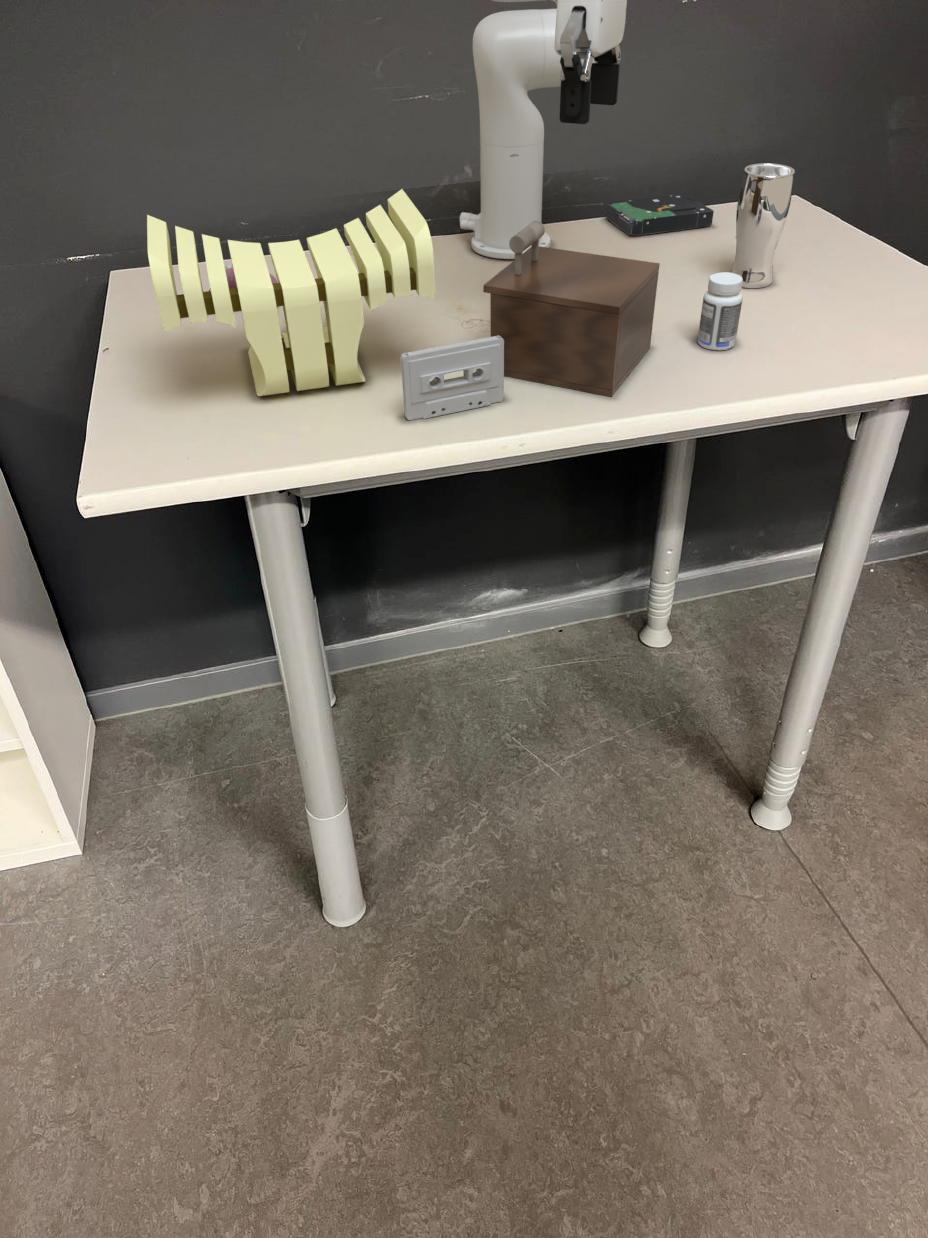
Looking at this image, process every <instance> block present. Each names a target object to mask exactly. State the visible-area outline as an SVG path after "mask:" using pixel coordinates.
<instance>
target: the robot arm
mask: <svg viewBox="0 0 928 1238" xmlns="http://www.w3.org/2000/svg"><path fill="white" fill-rule="evenodd" d="M491 1H492V2H496V3H497V2H498V3H522V2H542V1H543V2H545V1H546V0H491ZM551 1H552V2H554V3H555V5H556V8H547V9H546V8H543V9H537V8H533V9H515V10H514V9H513V10H504V11H503V10H502V11H499V12H494V13H492V14H488V15H487V16H486V17H484V18H482V19H481V20H480V21H479V22H478V23H477V25H476V26H475V29H474V32H473V34H472V58H473V65H474V66H473V67H474V71H475V79H476V86H477V96H478V110H479V111H478V112H479V166H480V168H479V169H480V170H479V173H480V175H479V177H480V178H479V179H480V181H479V182H480V212H479V213H478V214H474V213H472V212H464V211H462V212H461V213H460V215H459V226H460V227H459V228H460V229H461V230H467V231H468V230H471V231H473V232H474V235H473V236H472V238H471V240H470V241H471V245H470V246H471V249H472V250H473V251H474V252H475V253H477V254H478V255H480V256H484V257H487V258H490V259H499V260H515V253H514V252H513V251H512V250H511V249H510V246H509V242H510V239H511V238H512V237H513V236H514V235H516V234H517V233H518V232H520V231H521V230H522V229H524V228H525V227H526V226H528V225H529V224H530V223H531V222H533V221H540V222H541V223H542V217H543V216H542V214H543V213H542V212H543V211H542V210H543V183H544V153H545V151H544V149H545V148H544V147H545V123H544V120H543V117H542V114H541V112H540V111H539V109H538V108H537V107H536V105H535V104H534V103H533V102H532V101H531V99H530V97H529V95H528V92H529V91H534V90H539V89H549V88H560V94H559V96H560V97H559V121H560V123H563V124H577V125H587V124H588V123H589V122H590V115H591V105H600V106H601V105H602V106H615V105H616V104H617V103H618V94H619V93H618V92H619V79H620V69H621V67H620V65H621V64H620V63H621V58H622V53H621V46H620V45H621V43H622V42H623V38H624V33H625V28H626V27H625V26H626V20H627V19H626V16H627V8H628V7H627V6H628V5H627V4H628V0H551ZM551 241H552V239H551V237H550V235H549V234H547V233H546V232H544V235H543V236H542V237H541V238H539V246H540V247H547V248H551V244H552V243H551ZM530 247H532V245H531V246H529V247H528V248H527V249H526V250H524V251H523V252H522V254H523V253H524V252H525V251H527V250H528V249H529V248H530Z"/></svg>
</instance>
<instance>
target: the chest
mask: <svg viewBox="0 0 928 1238" xmlns="http://www.w3.org/2000/svg"><path fill="white" fill-rule="evenodd" d="M659 272H660V270H659V271H658V272H657V273H656V274H655V275H654V276H653V277H652V278H651V280H650V281H649V282H648V283H647V284H646V285H645V286H644V287H643V288H642V290H641V291H640V292H639V293H638V294H637V295H636V296H635V297H634V298H633V299H632V301H631V302H630V303H629V304H628V305H627V306H626V307H625V308H624V309H623V311H622V312H621V313H620V314H613V313H607V312H601V311H594V310H588V309H582V308H576V307H570V306H564V305H558V304H552V303H546V302H540V301H533V300H527V299H521V298H515V297H509V296H503V295H497V294H491V293H489V294H490V297H489V300H490V302H489V303H490V305H489V306H490V307H489V310H490V314H489V315H490V319H489V320H490V337H493V336H498V335H499V336H501V337H502V338H503V340H504V377H508V378H509V377H510V378H514V379H519V380H523V381H530V382H535V383H539V384H544V385H548V386H549V385H550V386H555V387H559V388H564V389H570V390H575V391H579V392H585V393H590V394H594V395H600V396H605V397H610V398H612V397H613V396H614V394H616V392H618V390H619V389H620V387H621V386H622V385H623V383H624V382H625V381H626V380H627V378H628V377H629V376H630V374H631V373H632V372H633V371H634V370H635V368H636V367H637V365H638V364H639V363H640V362H641V361H642V360H643V358H644V356H646V354H647V353H648V351H649V350H650V349H651V343H652V335H653V325H654V315H655V309H656V307H655V306H656V299H657V291H658V282H659Z"/></svg>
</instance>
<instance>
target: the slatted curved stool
mask: <svg viewBox="0 0 928 1238" xmlns="http://www.w3.org/2000/svg"><path fill="white" fill-rule="evenodd" d="M387 210H388V214H387V212H386V211H385V210H384V208H383V206H382V204H379V205H377V206H375V207H373V208H372V209H371V210H369V211H367V212H365V223H366V226H367V229H368V230H369V232H370V234H371V236H372V238H373V240H374V242H373V240H372V239H371V237H370V235H369V233H368V232H367V230H366V228H365V227H364V225H363V223H362V221H361V219H360V218H359V217H357V218H355V219H353V220H350V221H348V222H347V223H344V224H343V231H344V237H345V239H346V241H347V243H348V245H349V247H350V250H351V251H352V252H351V253H352V254H353V257H354V260H355V262H354V260H353V257H352V256H351V254H350V252H349V250H348V249H347V246H346V244H345V242H344V240H343V238H342V237H341V234H340V232H339V230H338V228H337V227H335V228H333V229H331V230H328V231H325V232H322V233H319V234H316V235H312V236H309V237H306V244H307V249H308V251H309V254H310V257H311V260H312V263H313V265H314V268H315V271H316V275H317V277H316V278H315V276H314V274H313V272H312V269H311V267H310V264H309V261H308V259H307V256H306V254H305V251H304V248H303V246H302V243H301V241H300V239H295V240H288V241H280V242H279V241H277V242H268V243H267V245H268V251H269V252H268V253H269V255H270V258H271V262H272V266H273V269H274V273H275V276H276V277H275V278H276V280H277V282H278V283H274V284H272V282H271V278H270V275H269V274H270V272H269V268H268V265H267V262H266V258H265V255H264V252H263V251H264V250H263V248H262V244H261V243H260V242H251V241H239V240H234V239H233V240H231V239H227V245H228V250H229V255H230V256H229V257H230V261H231V265H232V266H233V271H234V275H235V280H236V285H237V288H232V289H229V287H228V282H227V277H226V272H225V267H224V266H225V263H224V262H225V261H224V257H223V252H222V247H221V241H220V238H219V237H216V236H213V235H212V236H211V235H207V234H203V233H201V239H202V245H203V251H204V257H205V264H206V271H207V276H208V277H207V278H208V282H209V289H211V291H209V290H208V291H207V290H206V291H204V289H203V283H202V277H201V271H200V265H199V259H198V252H197V251H198V250H197V244H196V239H195V234H194V231H193V230H189V229H187V228H183V227H180V226H177V225H174V229H175V240H176V241H175V242H176V252H177V254H176V255H177V265H178V271H179V277H180V282H181V287H182V292H183V293H180V294H178V290H177V287H176V286H177V285H176V281H175V275H174V269H173V268H174V267H173V263H172V262H173V260H172V251H171V241H170V240H171V239H170V235H169V229H168V225H167V222H166V221H164V220H161V219H160V218H157V217H154V216H152V215H149V214H146V231H147V232H146V234H147V235H146V236H147V237H146V238H147V240H146V241H147V243H146V244H147V257H148V263H149V269H150V275H151V280H152V284H153V288H154V293H155V297H156V301H157V305H158V309H159V313H160V319H161V323H162V326H163V330H164V332H168V331H170V330H173V329H175V328H178V327H182V326H183V325H182V324H183V323H182V319H185V318H186V319H187V318H188V319H189V323H190V324H197V323H205V322H209V318H208V316H210V315H211V316H212V315H215V318H216V323H220V324H225V325H229V326H231V327H233V328H235V329H237V324H236V320H235V314H234V313H235V312H236V313H237V312H241V317H242V322H243V326H244V331H245V337H246V340H247V341H248V342H249V344H250V347H249V349H248V351H247V353H248V359H249V363H250V368H251V373H252V377H253V383H254V387H255V392H256V395H257V396H258V397H264V396H271V395H278V394H286V393H290V383H289V377H288V376H289V375H288V371H290V372H291V376H292V379H293V383H294V386H295V391H296V392H300V391H308V390H315V389H322V388H329V387H330V378H329V377H330V376H329V371H330V374H331V378H332V379H333V383H334V385H335V386H337V387H338V386H342V385H343V386H344V385H351V384H357V383H364V382H366V377H365V375H364V373H363V371H362V368H361V366H360V363H359V361H358V352H359V345H360V339H361V336H362V331H363V328H364V325H365V320H364V309H363V299H362V297H363V298H364V300H365V302H366V305H367V306H368V308H369V310H370V312H373V311H374V309H376V308H377V307H378V306H380V305H381V304H383V303H386V302H387V301H388V300H387V294H392V296H393V298H394V299H399V298H407V297H412V291H415V292H416V294H417V295H418V297H423V298H432V299H436V298H437V297H436V275H435V256H434V248H433V247H434V246H433V241H432V237H431V233H430V232H431V231H430V229H429V225H428V223H427V220H426V219H425V218H424V216H423V215H422V213H421V212H420V211H419V210H418V207H417V206H415V204H414V203H413V201H412V199H410V197H409V196H408V194H407V193H406V192H405V191H404V189H403V188H401V189H400V190H397V192H395V193H394V194H393V195H391V196H390V197H389V198H387ZM374 243H375V244H374ZM375 245H376V246H375ZM355 263H356V264H355ZM320 302H323V309H324V314H325V321H326V327H323V319H322V312H321V304H320ZM278 307H282V311H283V315H284V321H285V327H286V328H285V329H286V332H281V325H280V319H279V314H278Z"/></svg>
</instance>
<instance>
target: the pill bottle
mask: <svg viewBox="0 0 928 1238" xmlns="http://www.w3.org/2000/svg"><path fill="white" fill-rule="evenodd" d="M742 281H743V279H742V277H741V276H740V275H738V274H734V273H730V272H728V271H727V272H726V271H724V272H723V271H722V272H716V273H712V274H711V275H710V276H709V278H708V284H707V290H706V291H705V292H704V293H703V297H702V298H703V299H702V304H701V311H700V318H699V327H698V334H697V343H698V345H699V346H700V347H702V348H704V349H707V350H711V351H727V350H730V349H732V348H733V347H734V346H735V344H736V342H737V341H736V340H737V335H738V330H739V329H738V328H739V323H740V318H741V317H740V316H741V311H742V305H743V299H744V298H743V294H742V292H741V291H742V288H743V287H742Z"/></svg>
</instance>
